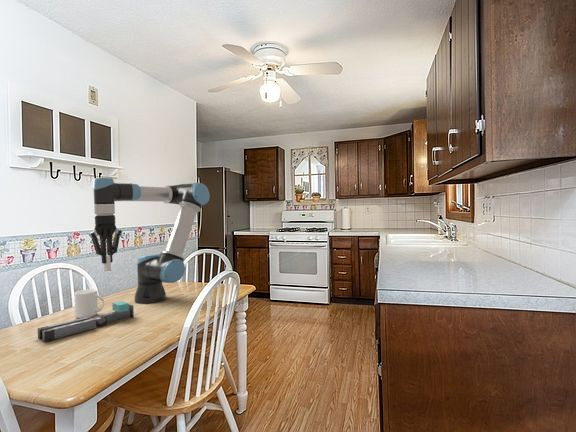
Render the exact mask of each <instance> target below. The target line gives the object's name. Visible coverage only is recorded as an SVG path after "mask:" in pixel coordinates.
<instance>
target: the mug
mask: <svg viewBox="0 0 576 432" xmlns="http://www.w3.org/2000/svg"><path fill="white" fill-rule="evenodd" d="M98 300H100V301H101V302H102V306H101V307H100V308H98V305H99V304H98ZM104 306H105V301H104V298H103V297H102V296H101V295H100V294H98V290H97V289H94V288H93V289H92V288H89V289H87V288H86V289H82V290H80V289H79V290H78V291H75V292H74V315H75V318H77V319H81V318H85V317H90V318H92V317H96V315H97V314H98V313H99V312H102V310H103V309H104Z"/></svg>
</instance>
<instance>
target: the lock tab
mask: <svg viewBox="0 0 576 432" xmlns="http://www.w3.org/2000/svg"><path fill="white" fill-rule="evenodd" d="M129 304H130V303H129V302H127V301H123V300H120V301H115V302H112V306H111V307H112V311H113V312H115V311H116V312H119V313H120V312H124V311H128V310H129Z"/></svg>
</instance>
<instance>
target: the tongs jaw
mask: <svg viewBox="0 0 576 432" xmlns="http://www.w3.org/2000/svg"><path fill="white" fill-rule="evenodd" d="M96 328H97V327H96V319H94V317H93V318H90V319H89V320H84V321H80V322H76V323H72V324H68V325H64V326H60V327H55V328H50V329H46V330H42V339H41V340H42V341H43V342H45V343H46V342H49V341H53V340H56V339H60V338H65V337H68V336H71V335H76V334H79V333H83V332H87V331H91V330H93V329H96Z"/></svg>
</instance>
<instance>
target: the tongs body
mask: <svg viewBox="0 0 576 432" xmlns="http://www.w3.org/2000/svg"><path fill="white" fill-rule="evenodd" d="M134 315H135V313H134V305H133V304H130V303H129V310H128V311H124V312H120V313H119V312H116V311H111V312H108V313H102V314H101V315H98V316H93V318H94V319H96V328H102V327H105V326H107V325H109V324H112V323H116V322H121V321H124V320H128V319H134V317H135V316H134ZM89 319H91V317H85V318H77V319H73V320H69V321H64V322H60V323H56V324H55V323H54V324H51V325H45V326H42V327H38V328H37V338H38V339H39V340H42V330H46V329H50V328H55V327H60V326H64V325H68V324H72V323H76V322H80V321H84V320H89Z"/></svg>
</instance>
